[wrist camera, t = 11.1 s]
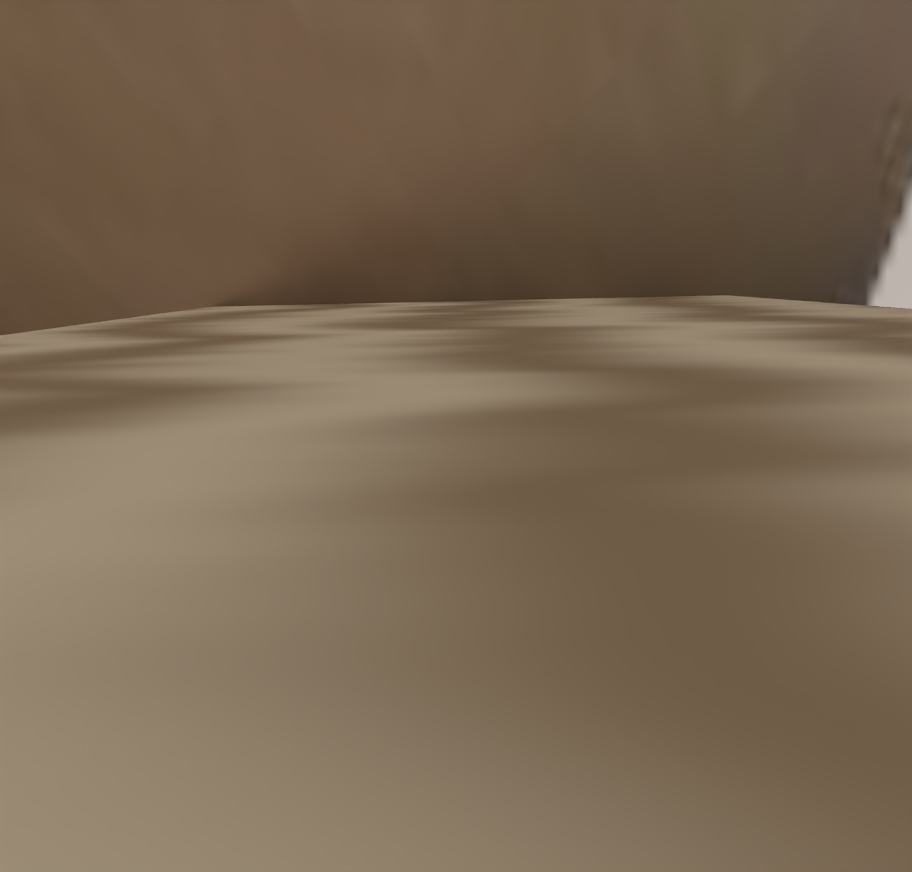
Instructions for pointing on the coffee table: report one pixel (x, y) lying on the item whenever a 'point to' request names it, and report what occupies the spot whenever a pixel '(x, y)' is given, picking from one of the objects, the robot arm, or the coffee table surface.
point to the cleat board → (459, 588)
